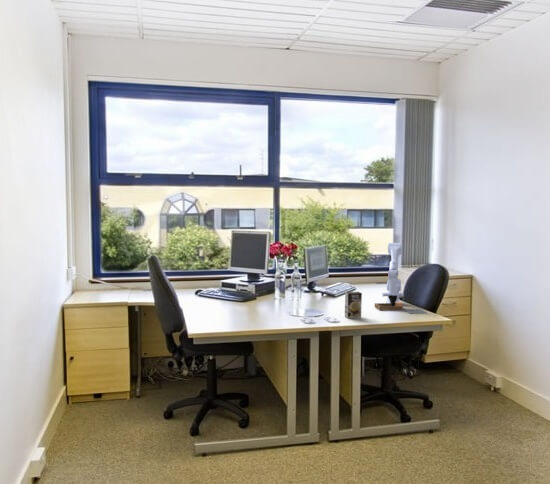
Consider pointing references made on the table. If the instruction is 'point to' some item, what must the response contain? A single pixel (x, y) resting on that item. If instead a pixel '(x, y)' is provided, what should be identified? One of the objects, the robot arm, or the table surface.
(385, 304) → the cubby
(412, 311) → the mat
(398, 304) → the block
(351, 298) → the coffee box
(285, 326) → the table surface
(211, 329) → the table surface
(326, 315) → the table surface
